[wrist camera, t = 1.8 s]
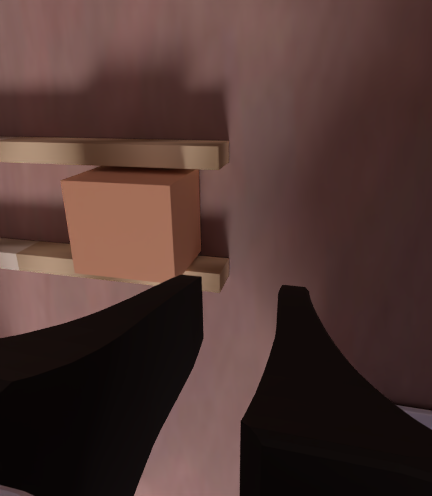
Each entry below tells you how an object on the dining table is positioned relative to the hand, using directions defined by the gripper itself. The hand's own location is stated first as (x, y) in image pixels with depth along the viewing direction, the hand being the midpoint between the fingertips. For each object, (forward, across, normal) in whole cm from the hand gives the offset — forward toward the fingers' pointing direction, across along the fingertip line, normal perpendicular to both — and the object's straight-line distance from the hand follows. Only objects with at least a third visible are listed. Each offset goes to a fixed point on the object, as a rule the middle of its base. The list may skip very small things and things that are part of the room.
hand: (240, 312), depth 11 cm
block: (+9, +6, 0) cm, 11 cm away
